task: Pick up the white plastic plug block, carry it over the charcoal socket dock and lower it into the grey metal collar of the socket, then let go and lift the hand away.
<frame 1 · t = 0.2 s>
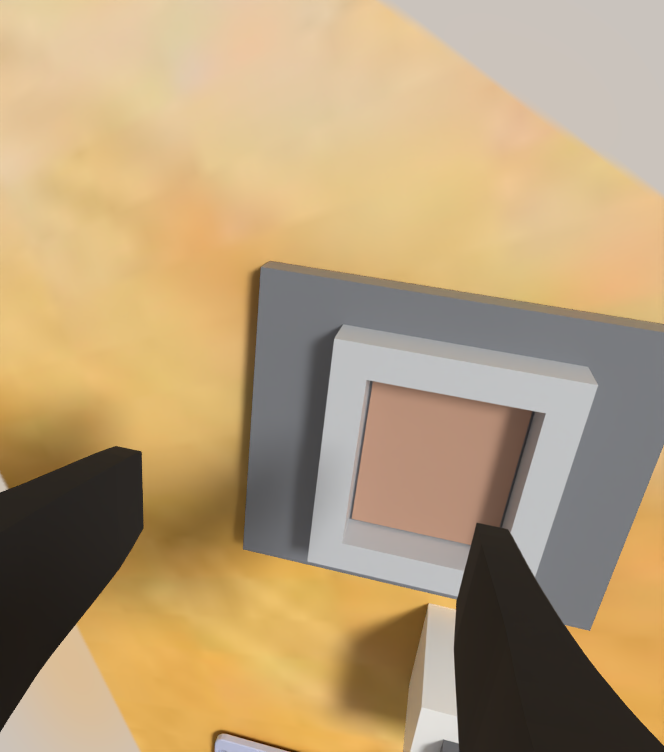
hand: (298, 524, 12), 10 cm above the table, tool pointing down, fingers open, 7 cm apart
socket dock: (437, 447, 22), on the table
plug: (463, 655, 25), on the table
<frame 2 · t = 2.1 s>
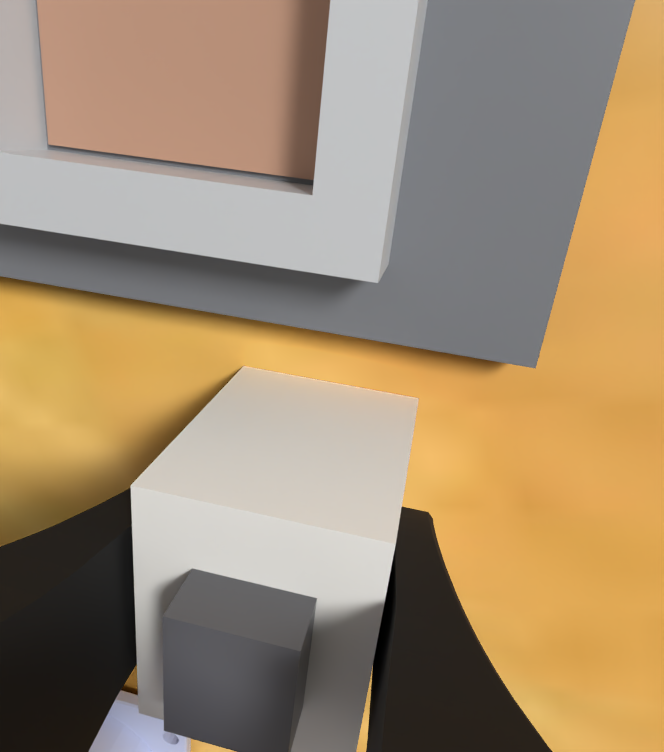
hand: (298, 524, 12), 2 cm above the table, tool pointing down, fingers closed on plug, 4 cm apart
plug: (318, 476, 14), on the table, touching gripper
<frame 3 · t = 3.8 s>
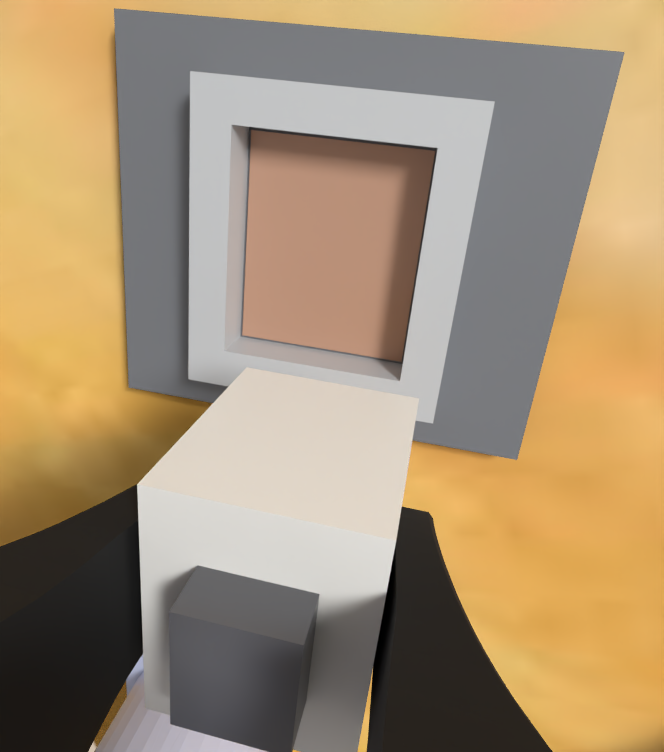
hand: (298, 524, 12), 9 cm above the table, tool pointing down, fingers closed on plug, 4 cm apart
socket dock: (336, 245, 19), on the table
plug: (320, 475, 14), point 7 cm above the table, touching gripper
when the fingers open (4 cm above the table, at t = 5.7 s): plug stays where it is, resting on socket dock.
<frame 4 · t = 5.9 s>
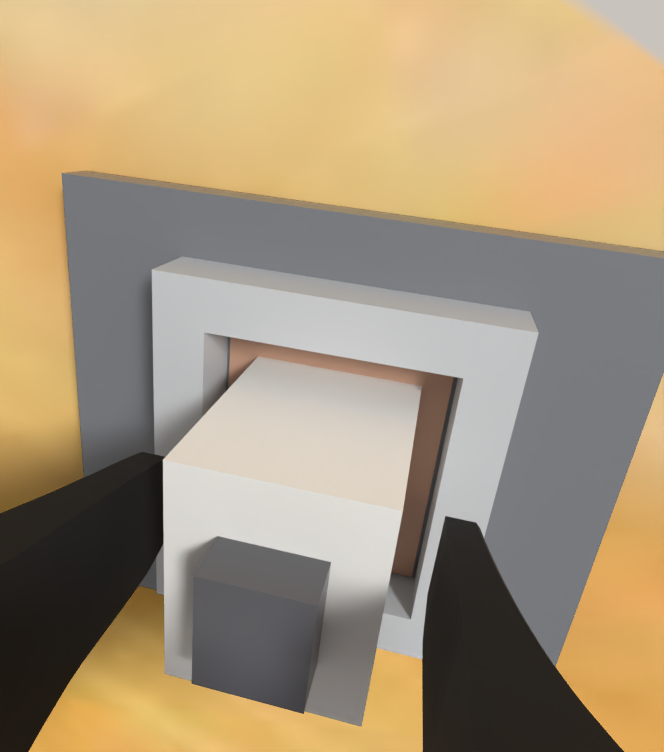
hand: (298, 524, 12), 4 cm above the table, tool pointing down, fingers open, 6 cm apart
socket dock: (335, 435, 16), on the table
plug: (327, 460, 15), point 1 cm above the table, touching socket dock
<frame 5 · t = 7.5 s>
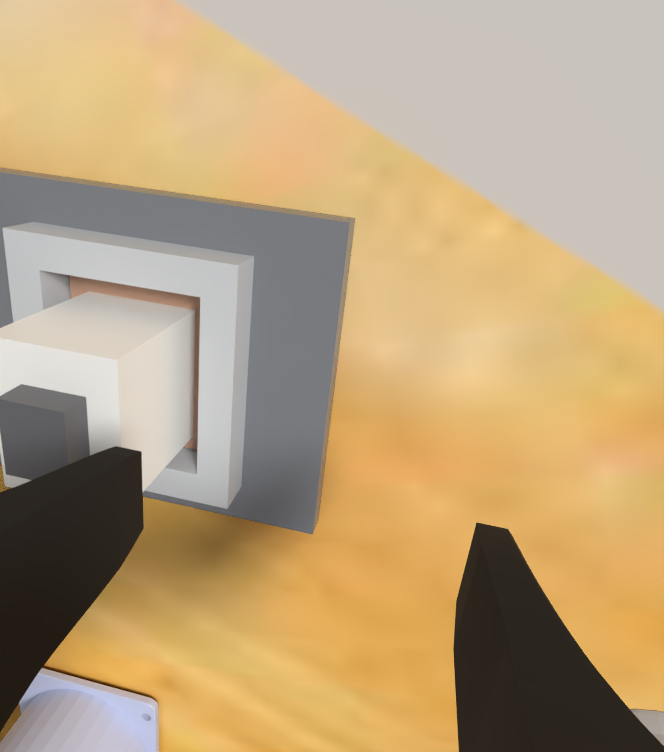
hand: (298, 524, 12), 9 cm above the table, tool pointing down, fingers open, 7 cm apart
socket dock: (156, 352, 22), on the table
plug: (142, 366, 21), point 1 cm above the table, touching socket dock
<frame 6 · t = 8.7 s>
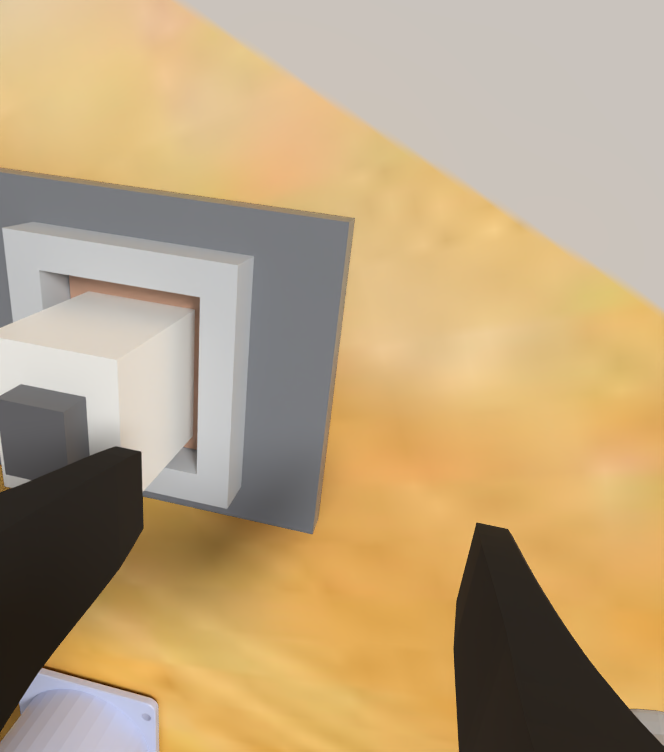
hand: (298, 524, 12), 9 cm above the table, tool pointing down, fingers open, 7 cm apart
socket dock: (156, 352, 22), on the table
plug: (142, 365, 21), point 1 cm above the table, touching socket dock
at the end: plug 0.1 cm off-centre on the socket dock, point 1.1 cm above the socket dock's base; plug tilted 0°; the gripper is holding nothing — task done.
